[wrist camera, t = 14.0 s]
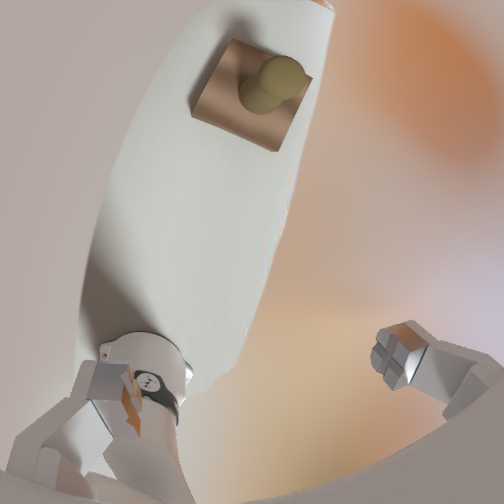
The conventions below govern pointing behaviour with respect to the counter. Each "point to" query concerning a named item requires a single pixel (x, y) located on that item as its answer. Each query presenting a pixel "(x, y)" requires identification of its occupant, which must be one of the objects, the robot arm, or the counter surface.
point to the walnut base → (230, 108)
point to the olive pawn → (272, 85)
